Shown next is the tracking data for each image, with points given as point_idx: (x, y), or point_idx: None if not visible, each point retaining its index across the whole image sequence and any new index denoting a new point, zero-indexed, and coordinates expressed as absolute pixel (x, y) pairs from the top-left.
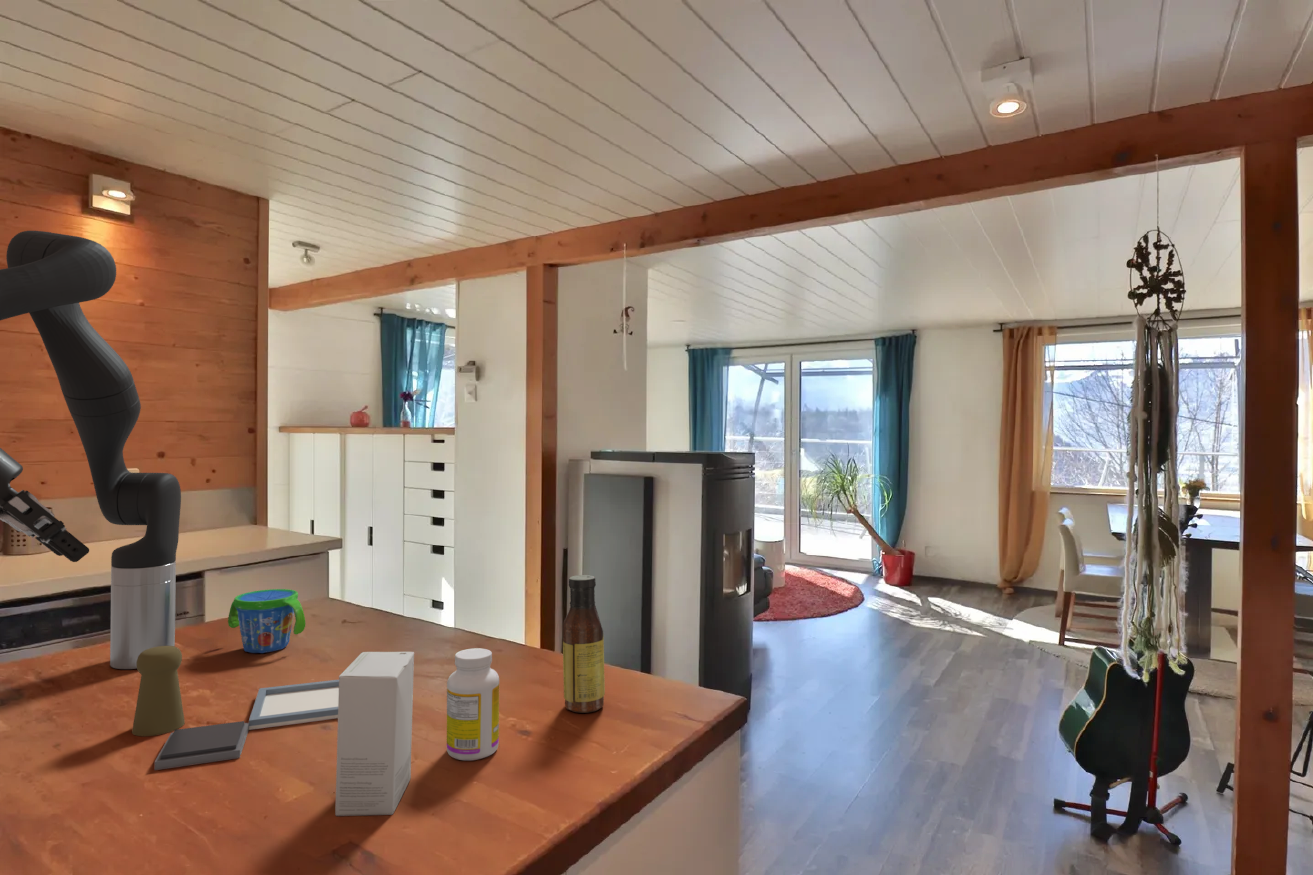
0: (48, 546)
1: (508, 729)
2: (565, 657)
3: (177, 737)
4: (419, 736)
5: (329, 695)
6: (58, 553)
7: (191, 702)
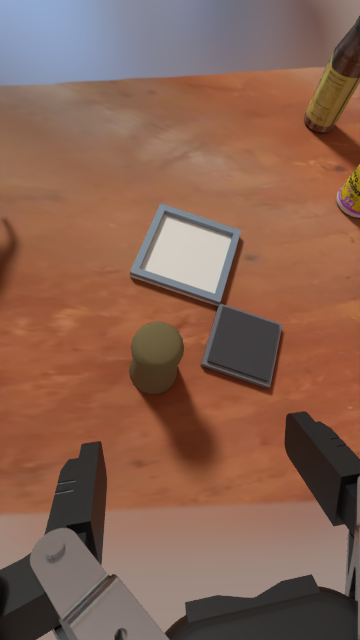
0: (104, 518)
1: (329, 172)
2: (341, 91)
3: (231, 361)
4: (309, 216)
5: (182, 231)
6: (105, 484)
7: (96, 331)
